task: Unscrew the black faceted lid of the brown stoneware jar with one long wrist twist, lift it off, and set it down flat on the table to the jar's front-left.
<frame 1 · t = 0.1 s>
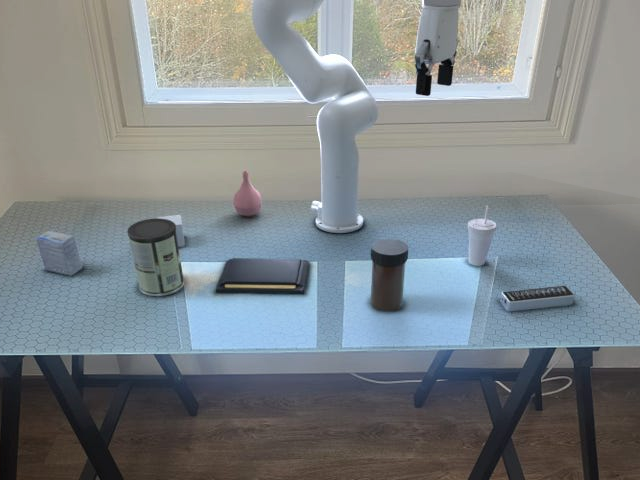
hand: (433, 89, 138), 37 cm above the table, tool pointing down, fingers open, 9 cm apart
lid: (389, 249, 130), point 13 cm above the table, screwed on, not yet turned
jar: (386, 303, 138), on the table
wallet: (264, 278, 149), on the table
multiport hub: (535, 303, 137), on the table
smoothie: (476, 262, 152), on the table
coffee can: (161, 286, 147), on the table
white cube: (172, 243, 164), on the table
pink teardrop shaped piece: (248, 215, 177), on the table
medicine box: (64, 270, 154), on the table
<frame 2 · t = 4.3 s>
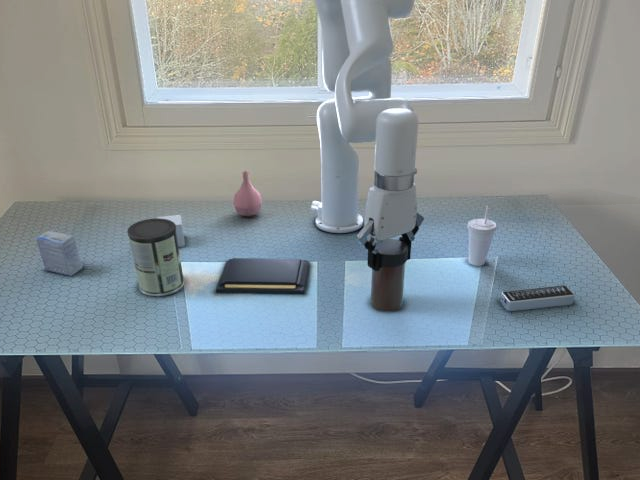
hand: (388, 262, 132), 10 cm above the table, tool pointing down, fingers closed on lid, 7 cm apart
lid: (389, 249, 130), point 13 cm above the table, screwed on, not yet turned, touching gripper
everything else where it was.
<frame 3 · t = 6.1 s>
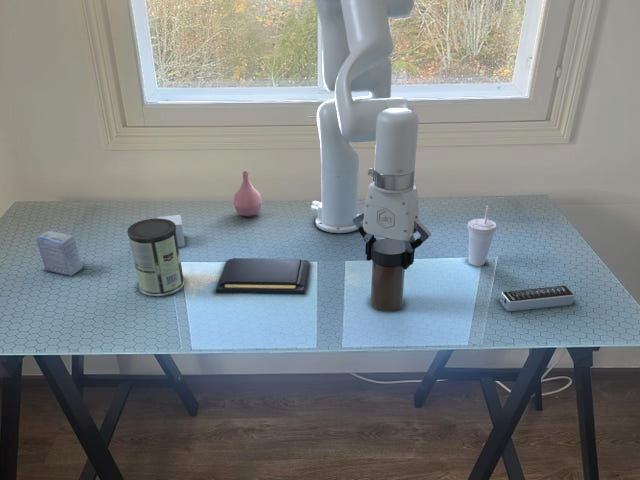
hand: (388, 261, 132), 10 cm above the table, tool pointing down, fingers closed on lid, 7 cm apart
lid: (389, 248, 130), point 13 cm above the table, turned 116° so far, risen 0.1 cm, still on its thread, touching gripper
everything else where it was.
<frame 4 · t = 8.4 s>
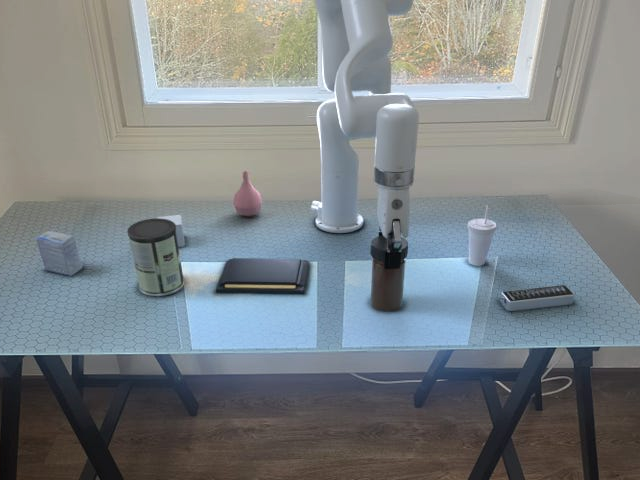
hand: (388, 258, 132), 11 cm above the table, tool pointing down, fingers closed on lid, 7 cm apart
lid: (389, 245, 130), point 14 cm above the table, off its thread, touching gripper
jar: (386, 303, 138), on the table, touching gripper
everything else where it was.
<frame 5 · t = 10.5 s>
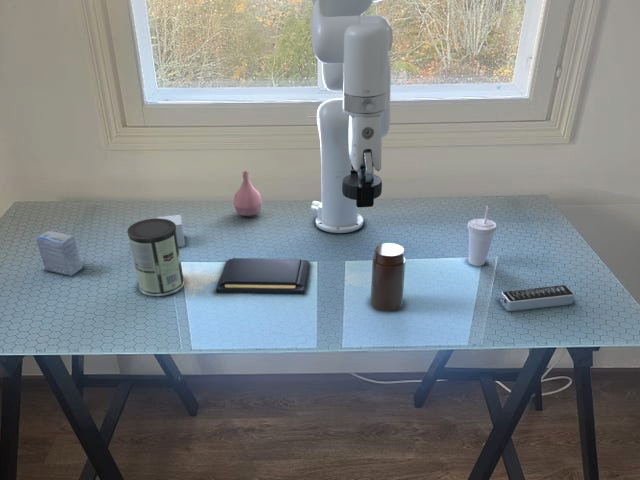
hand: (361, 197, 124), 24 cm above the table, tool pointing down, fingers closed on lid, 7 cm apart
lid: (362, 182, 122), point 27 cm above the table, off its thread, touching gripper
jar: (386, 303, 138), on the table
everything else where it was.
when the fingers open (0 cm above the table, at t = 16.8 s): lid stays where it is, point 2 cm above the table.
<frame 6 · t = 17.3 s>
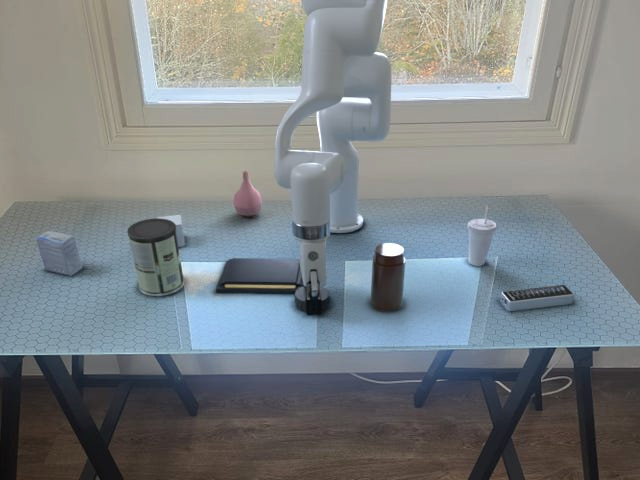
hand: (312, 303, 138), 0 cm above the table, tool pointing down, fingers open, 7 cm apart
lid: (312, 295, 137), point 2 cm above the table, off its thread
everything else where it was.
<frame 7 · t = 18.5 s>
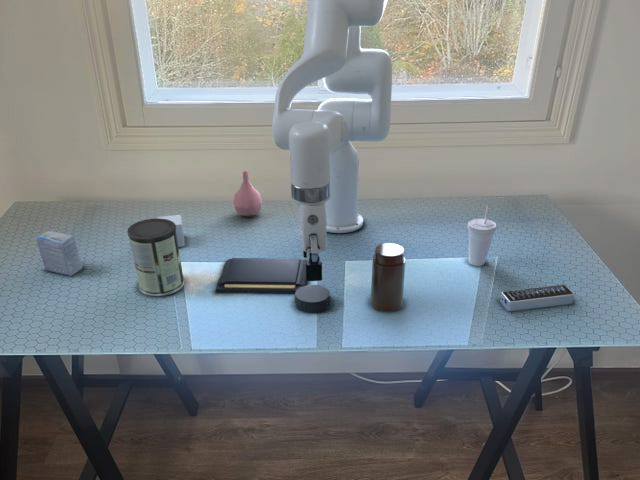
hand: (312, 268, 134), 8 cm above the table, tool pointing down, fingers open, 9 cm apart
nothing on the table moved.
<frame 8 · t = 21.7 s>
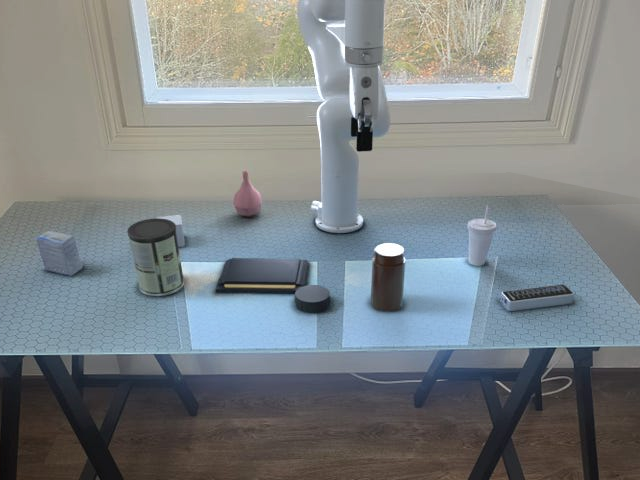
hand: (361, 143, 136), 28 cm above the table, tool pointing down, fingers open, 9 cm apart
nothing on the table moved.
at the end: lid inside the target area (0.2 cm from its centre), point 2.1 cm above the table; lid touching table; jar tilted 0° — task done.
